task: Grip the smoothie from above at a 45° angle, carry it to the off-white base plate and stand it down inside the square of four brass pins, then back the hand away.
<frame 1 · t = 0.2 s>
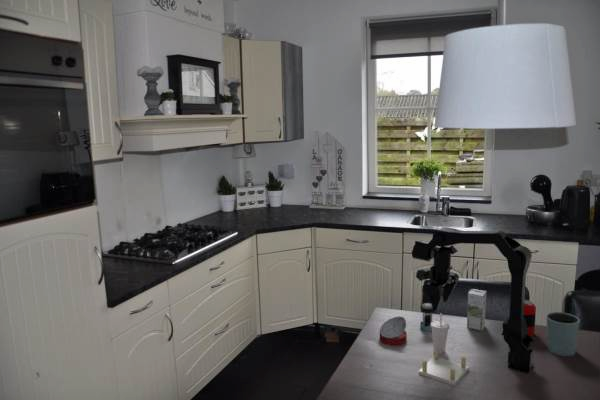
hand: (439, 305, 178), 15 cm above the table, tool pointing down, fingers open, 9 cm apart
syrup box: (475, 327, 194), on the table
pin plate: (444, 371, 162), on the table
canned food: (393, 340, 185), on the table
smoothie: (439, 350, 176), on the table
soda can: (523, 333, 188), on the table
push button: (428, 329, 193), on the table
teal cylindrical pot: (560, 350, 174), on the table
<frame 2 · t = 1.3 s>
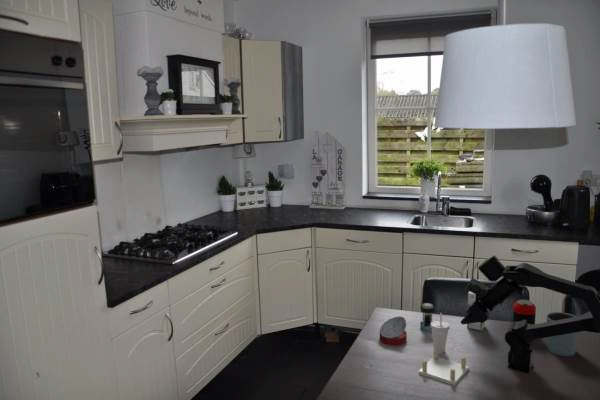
hand: (464, 318, 170), 13 cm above the table, tool tilted 45°, fingers open, 9 cm apart
nothing on the table moved.
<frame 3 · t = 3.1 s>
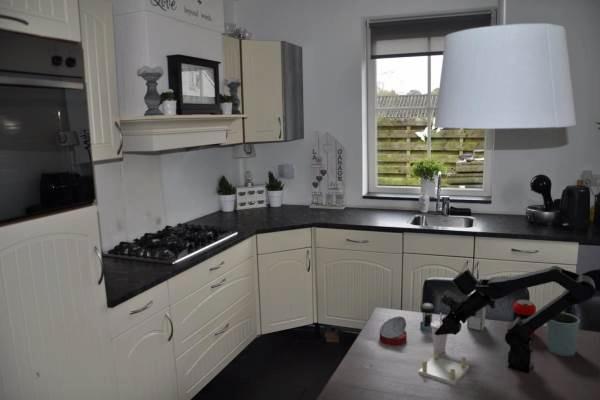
hand: (438, 328, 175), 8 cm above the table, tool tilted 45°, fingers open, 9 cm apart
nothing on the table moved.
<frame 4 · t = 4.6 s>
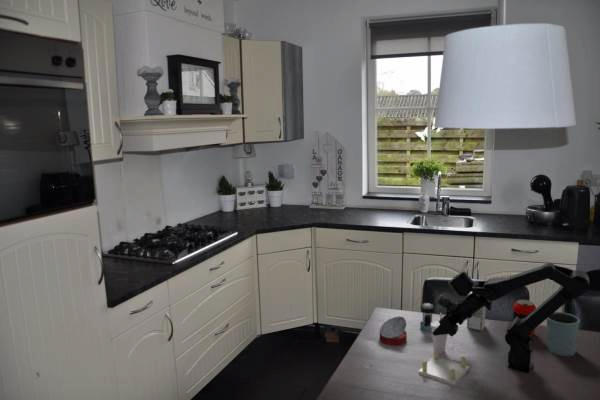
hand: (435, 330, 176), 7 cm above the table, tool tilted 45°, fingers closed on smoothie, 6 cm apart
smoothie: (439, 350, 176), on the table, touching gripper
everything else where it was.
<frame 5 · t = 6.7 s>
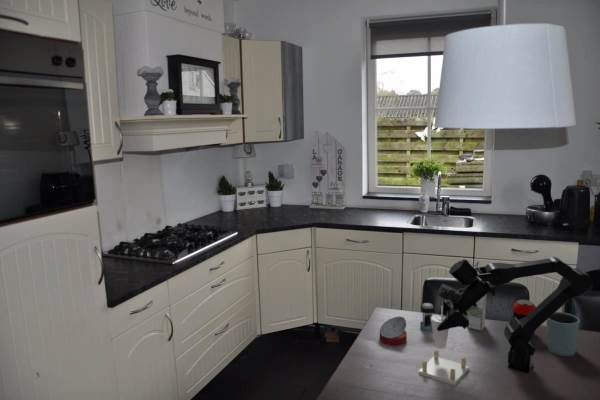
hand: (436, 325, 165), 13 cm above the table, tool tilted 45°, fingers closed on smoothie, 6 cm apart
smoothie: (440, 346, 166), point 6 cm above the table, touching gripper
everything else where it was.
when the fingers open (9 cm above the table, at t = 9.2 s): smoothie stays where it is, resting on pin plate.
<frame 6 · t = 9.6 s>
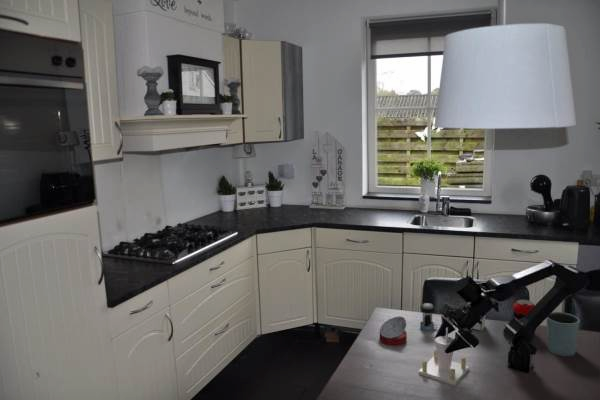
hand: (440, 345, 160), 9 cm above the table, tool tilted 45°, fingers open, 9 cm apart
smoothie: (444, 368, 162), point 1 cm above the table, touching pin plate
everything else where it was.
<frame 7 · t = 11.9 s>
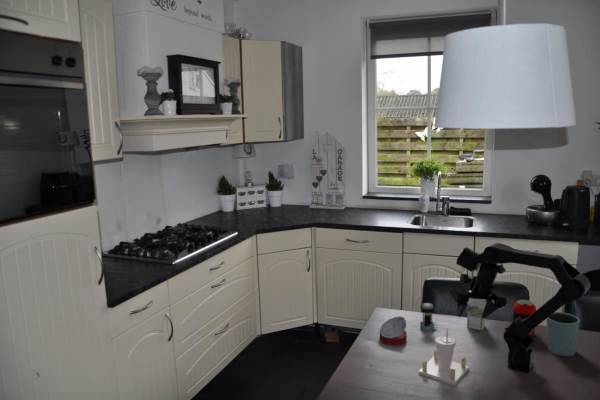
hand: (470, 317, 173), 12 cm above the table, tool tilted 15°, fingers open, 9 cm apart
nothing on the table moved.
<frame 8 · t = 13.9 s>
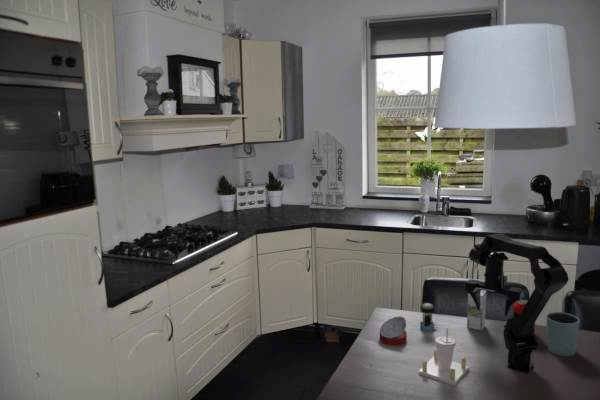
hand: (492, 312, 175), 13 cm above the table, tool pointing down, fingers open, 9 cm apart
nothing on the table moved.
at the end: smoothie 0.2 cm off-centre on the pin plate, point 0.8 cm above the pin plate's base; smoothie tilted 0°; the gripper is holding nothing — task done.
